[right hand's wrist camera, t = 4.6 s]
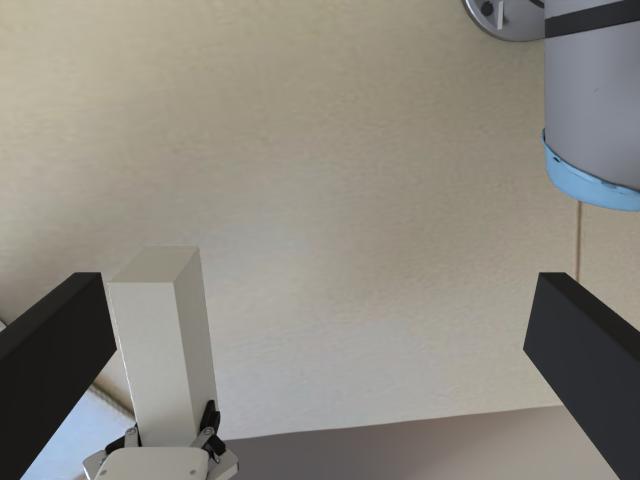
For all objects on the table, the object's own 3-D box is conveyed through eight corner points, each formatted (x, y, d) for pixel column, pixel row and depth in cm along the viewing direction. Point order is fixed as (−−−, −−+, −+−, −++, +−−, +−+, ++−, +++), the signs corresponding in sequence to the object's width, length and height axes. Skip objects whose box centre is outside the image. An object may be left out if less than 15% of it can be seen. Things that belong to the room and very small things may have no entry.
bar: (143, 246, 45) (106, 282, 37) (199, 246, 45) (173, 282, 37) (171, 410, 53) (146, 467, 45) (218, 409, 53) (201, 467, 45)
